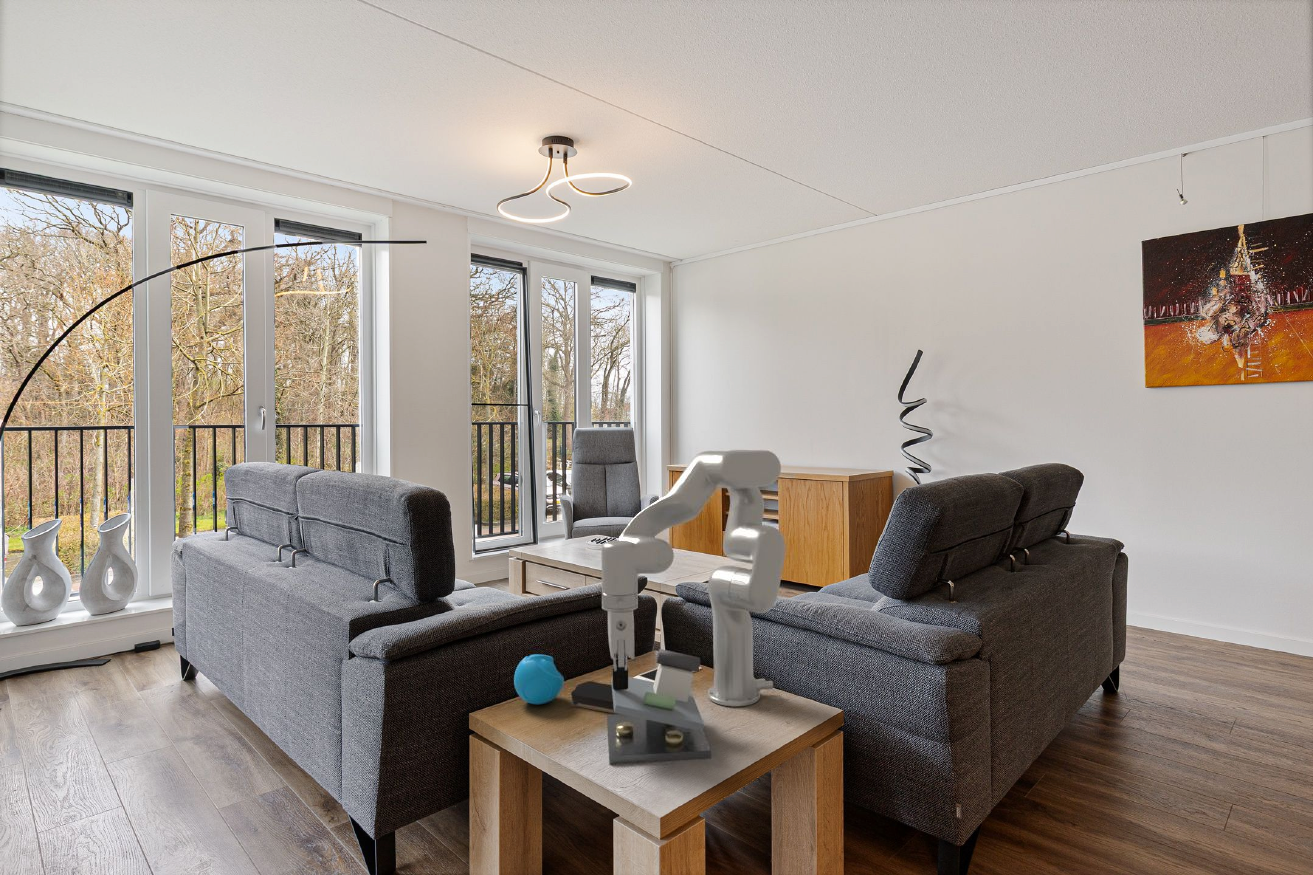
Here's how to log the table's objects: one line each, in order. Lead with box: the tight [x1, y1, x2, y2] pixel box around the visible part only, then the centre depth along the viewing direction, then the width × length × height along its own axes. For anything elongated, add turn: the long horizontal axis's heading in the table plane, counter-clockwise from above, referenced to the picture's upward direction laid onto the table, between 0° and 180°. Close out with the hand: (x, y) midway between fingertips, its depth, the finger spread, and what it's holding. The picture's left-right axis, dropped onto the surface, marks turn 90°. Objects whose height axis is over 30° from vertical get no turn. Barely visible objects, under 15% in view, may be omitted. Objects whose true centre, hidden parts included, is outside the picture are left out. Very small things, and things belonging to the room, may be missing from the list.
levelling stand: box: [606, 713, 712, 765], centre depth 143 cm, size 20×20×5 cm
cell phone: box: [632, 666, 702, 682], centre depth 182 cm, size 9×18×1 cm, turn 137°
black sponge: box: [570, 680, 618, 714], centre depth 162 cm, size 16×8×4 cm, turn 63°
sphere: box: [513, 654, 565, 705], centre depth 164 cm, size 12×11×12 cm
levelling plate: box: [611, 648, 705, 731], centre depth 143 cm, size 18×18×12 cm
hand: (620, 688), depth 142 cm, fingers closed
